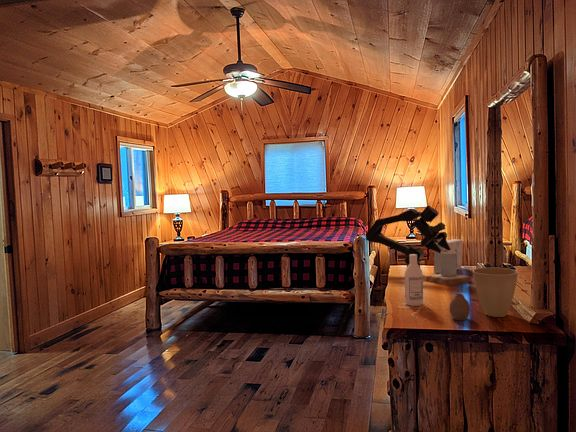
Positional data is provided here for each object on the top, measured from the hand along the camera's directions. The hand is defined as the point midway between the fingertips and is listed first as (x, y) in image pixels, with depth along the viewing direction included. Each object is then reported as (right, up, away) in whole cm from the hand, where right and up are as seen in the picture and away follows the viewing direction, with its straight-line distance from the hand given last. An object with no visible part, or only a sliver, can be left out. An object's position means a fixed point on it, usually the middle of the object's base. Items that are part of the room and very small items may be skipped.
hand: (445, 251), depth 235 cm
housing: (-1, -11, -7) cm, 13 cm away
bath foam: (-27, -18, -45) cm, 55 cm away
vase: (-17, -19, -66) cm, 71 cm away
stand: (-1, -14, -7) cm, 16 cm away
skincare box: (+8, -12, +19) cm, 24 cm away
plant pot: (-3, -18, -63) cm, 65 cm away
